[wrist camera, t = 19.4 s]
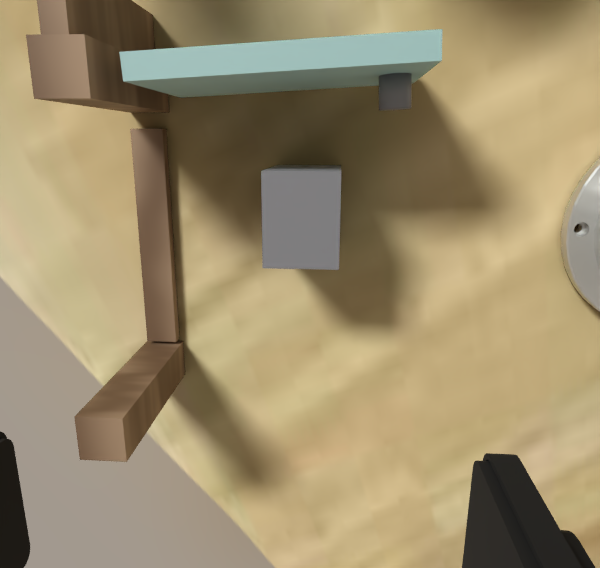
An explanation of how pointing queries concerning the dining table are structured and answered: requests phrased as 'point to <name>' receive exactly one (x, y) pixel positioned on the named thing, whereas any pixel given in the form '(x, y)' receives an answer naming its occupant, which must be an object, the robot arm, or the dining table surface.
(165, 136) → the door frame
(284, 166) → the block
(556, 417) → the dining table surface
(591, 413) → the dining table surface
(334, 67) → the door
